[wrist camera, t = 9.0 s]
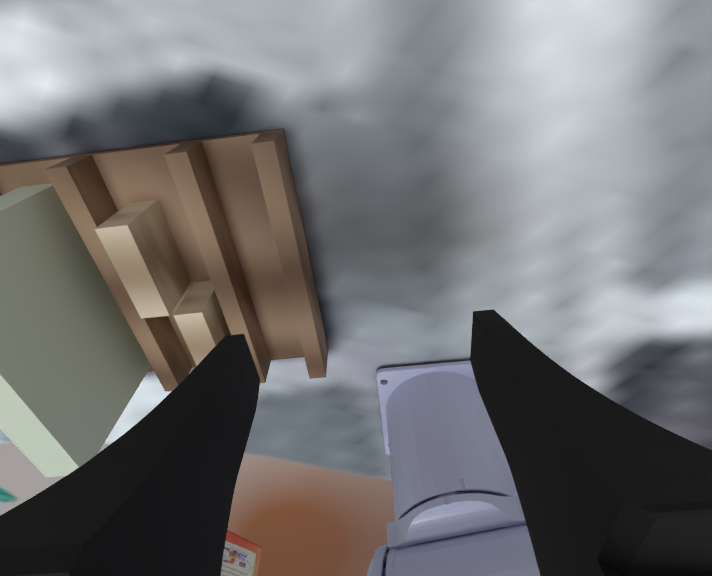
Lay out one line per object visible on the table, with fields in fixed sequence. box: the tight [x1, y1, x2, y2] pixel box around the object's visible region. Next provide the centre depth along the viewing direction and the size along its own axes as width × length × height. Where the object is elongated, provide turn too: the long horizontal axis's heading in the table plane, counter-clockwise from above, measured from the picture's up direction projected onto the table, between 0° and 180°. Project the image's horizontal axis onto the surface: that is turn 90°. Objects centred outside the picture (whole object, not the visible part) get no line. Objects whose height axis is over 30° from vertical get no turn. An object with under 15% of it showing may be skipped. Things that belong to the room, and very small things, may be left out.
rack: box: [0, 129, 328, 391], centre depth 22 cm, size 14×16×3 cm
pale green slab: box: [0, 183, 151, 477], centre depth 19 cm, size 12×2×8 cm, turn 7°
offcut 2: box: [173, 280, 231, 366], centre depth 23 cm, size 5×2×3 cm, turn 7°
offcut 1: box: [95, 200, 191, 319], centre depth 20 cm, size 5×2×3 cm, turn 7°
